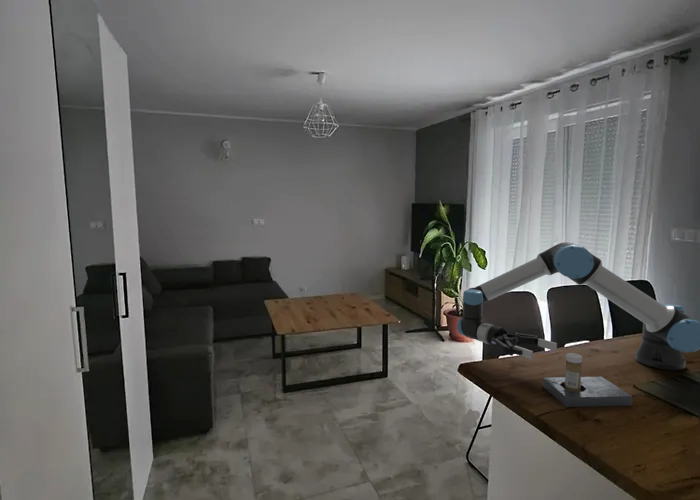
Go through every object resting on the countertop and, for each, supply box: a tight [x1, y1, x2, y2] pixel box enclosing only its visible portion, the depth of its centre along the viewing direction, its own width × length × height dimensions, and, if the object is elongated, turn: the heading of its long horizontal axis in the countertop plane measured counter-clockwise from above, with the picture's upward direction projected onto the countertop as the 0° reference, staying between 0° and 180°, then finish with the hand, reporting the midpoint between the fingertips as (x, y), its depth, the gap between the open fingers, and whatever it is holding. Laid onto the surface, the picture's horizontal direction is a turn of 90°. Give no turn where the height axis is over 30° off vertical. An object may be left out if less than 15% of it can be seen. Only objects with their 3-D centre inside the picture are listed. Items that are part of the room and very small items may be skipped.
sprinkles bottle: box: [564, 352, 583, 392], centre depth 124 cm, size 5×5×13 cm
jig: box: [542, 376, 633, 408], centre depth 125 cm, size 20×14×3 cm
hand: (544, 351), depth 132 cm, fingers open, 13 cm apart
